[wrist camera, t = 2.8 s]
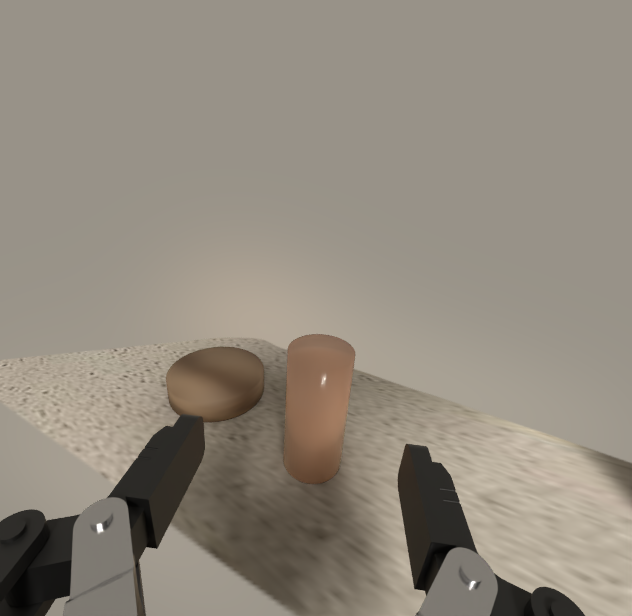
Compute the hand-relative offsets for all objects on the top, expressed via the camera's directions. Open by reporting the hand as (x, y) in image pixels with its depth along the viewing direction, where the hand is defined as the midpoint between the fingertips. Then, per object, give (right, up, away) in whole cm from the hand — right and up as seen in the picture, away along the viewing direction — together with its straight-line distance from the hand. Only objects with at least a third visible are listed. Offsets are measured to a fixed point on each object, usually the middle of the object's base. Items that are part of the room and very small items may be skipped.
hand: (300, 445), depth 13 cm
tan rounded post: (0, -8, +16) cm, 18 cm away
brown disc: (-10, -4, +23) cm, 26 cm away
